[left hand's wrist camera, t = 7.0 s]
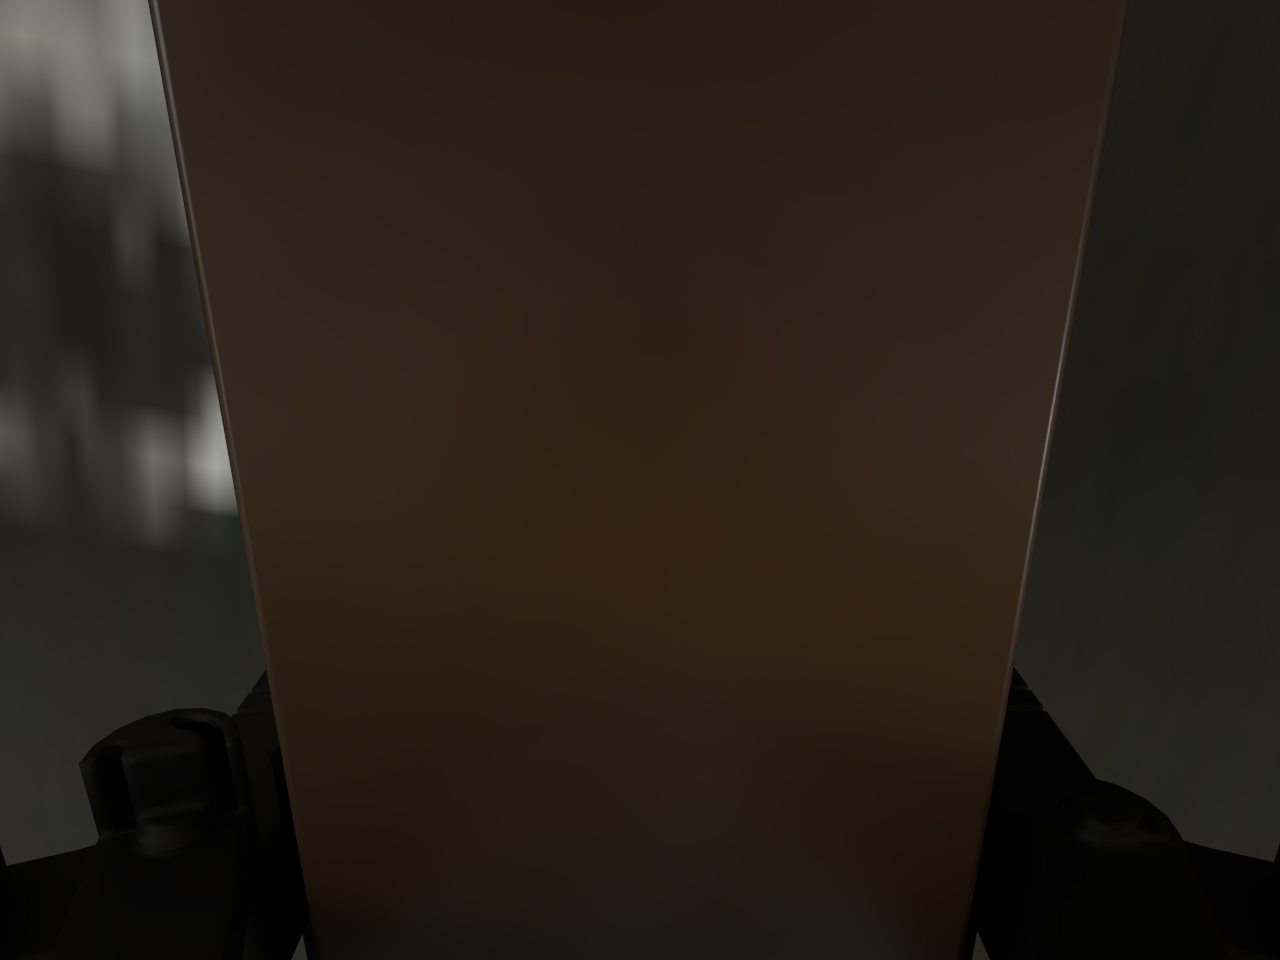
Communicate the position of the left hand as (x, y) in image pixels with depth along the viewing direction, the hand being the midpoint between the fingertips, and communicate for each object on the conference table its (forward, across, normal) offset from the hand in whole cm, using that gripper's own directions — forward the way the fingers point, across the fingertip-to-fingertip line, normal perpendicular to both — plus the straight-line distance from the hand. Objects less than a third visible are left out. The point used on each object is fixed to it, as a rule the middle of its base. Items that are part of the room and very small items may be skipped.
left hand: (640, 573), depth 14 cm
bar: (+1, 0, -8) cm, 8 cm away
